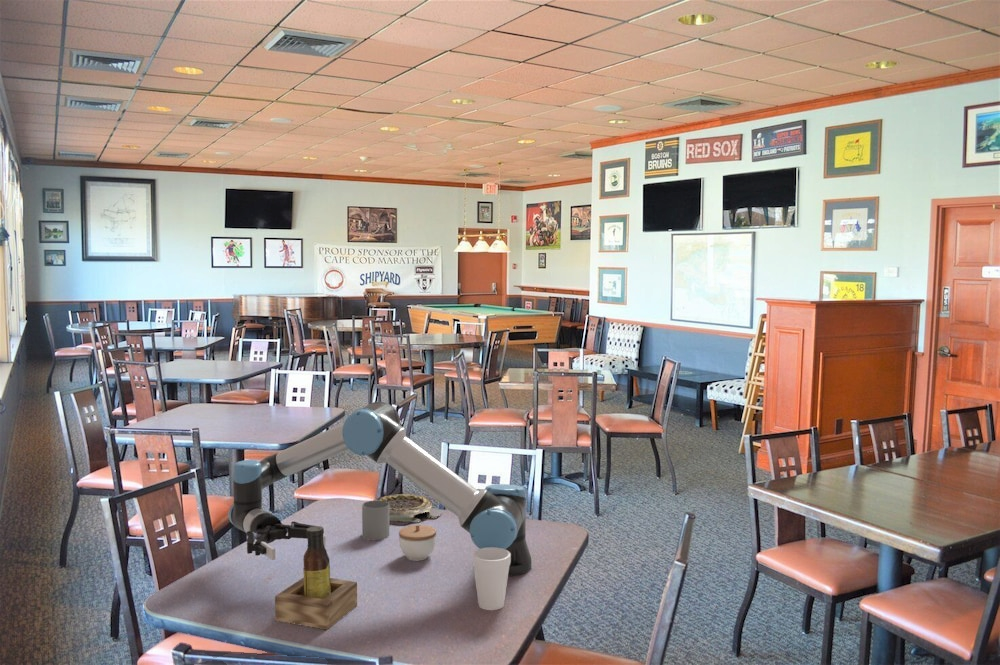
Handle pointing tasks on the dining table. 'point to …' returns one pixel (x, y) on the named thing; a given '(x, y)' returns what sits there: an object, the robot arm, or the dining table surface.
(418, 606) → the dining table surface
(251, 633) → the dining table surface
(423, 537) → the lidded jar
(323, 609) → the open wooden box
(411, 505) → the pie
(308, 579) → the sauce bottle
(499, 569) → the foam cup
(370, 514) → the cup
